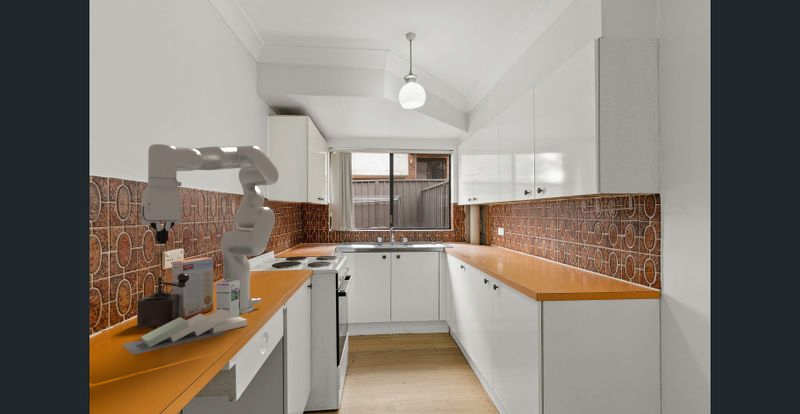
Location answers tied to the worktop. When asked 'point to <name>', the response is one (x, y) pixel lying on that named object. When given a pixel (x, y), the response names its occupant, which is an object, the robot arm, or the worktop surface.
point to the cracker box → (194, 286)
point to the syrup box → (228, 296)
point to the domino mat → (167, 342)
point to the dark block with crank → (160, 305)
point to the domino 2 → (191, 326)
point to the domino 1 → (165, 331)
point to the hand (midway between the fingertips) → (161, 243)
